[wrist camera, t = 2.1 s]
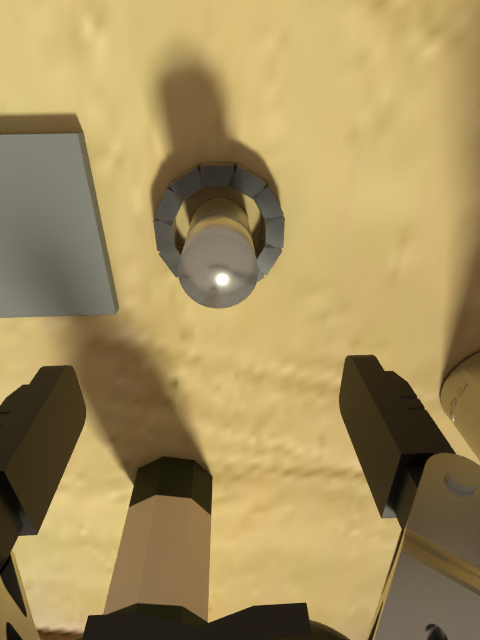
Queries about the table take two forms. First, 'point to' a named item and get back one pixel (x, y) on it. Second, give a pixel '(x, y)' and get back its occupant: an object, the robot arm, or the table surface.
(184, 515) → the wine bottle
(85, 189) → the slate mat
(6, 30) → the table surface
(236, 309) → the table surface
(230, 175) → the metal eye
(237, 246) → the cylinder
